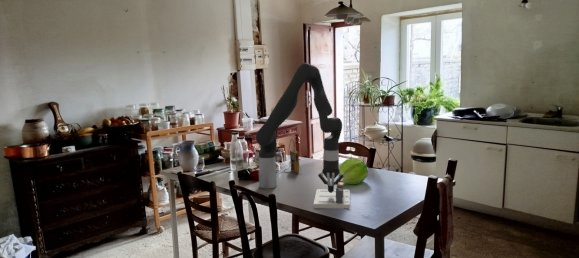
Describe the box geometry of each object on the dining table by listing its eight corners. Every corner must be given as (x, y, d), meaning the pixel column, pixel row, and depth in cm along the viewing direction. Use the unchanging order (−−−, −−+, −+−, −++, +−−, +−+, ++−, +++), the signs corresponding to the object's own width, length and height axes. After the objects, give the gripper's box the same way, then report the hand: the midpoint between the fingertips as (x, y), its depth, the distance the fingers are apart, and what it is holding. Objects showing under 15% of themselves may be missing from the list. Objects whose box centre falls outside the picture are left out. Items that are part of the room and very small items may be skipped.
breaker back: (336, 192, 206) (336, 180, 205) (337, 189, 210) (336, 178, 209) (342, 192, 206) (342, 180, 205) (342, 189, 210) (342, 178, 209)
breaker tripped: (337, 197, 198) (336, 184, 197) (337, 194, 202) (337, 182, 201) (343, 197, 198) (343, 184, 197) (343, 194, 202) (343, 182, 201)
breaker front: (335, 202, 191) (335, 190, 190) (336, 200, 194) (335, 188, 193) (342, 203, 190) (342, 190, 189) (342, 200, 194) (342, 188, 193)
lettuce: (355, 195, 214) (332, 193, 224) (376, 176, 229) (354, 175, 240) (348, 170, 210) (325, 169, 221) (370, 153, 225) (348, 153, 236)
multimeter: (277, 170, 258) (276, 140, 255) (291, 168, 262) (291, 138, 259) (287, 176, 245) (286, 144, 242) (302, 173, 249) (301, 142, 246)
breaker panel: (313, 207, 191) (313, 203, 191) (317, 192, 213) (316, 189, 213) (349, 208, 189) (349, 204, 189) (349, 193, 210) (349, 189, 210)
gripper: (344, 156, 200) (344, 190, 203) (318, 156, 202) (317, 189, 205) (344, 160, 193) (344, 195, 196) (316, 159, 194) (316, 194, 198)
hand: (330, 192), depth 200 cm, fingers closed
